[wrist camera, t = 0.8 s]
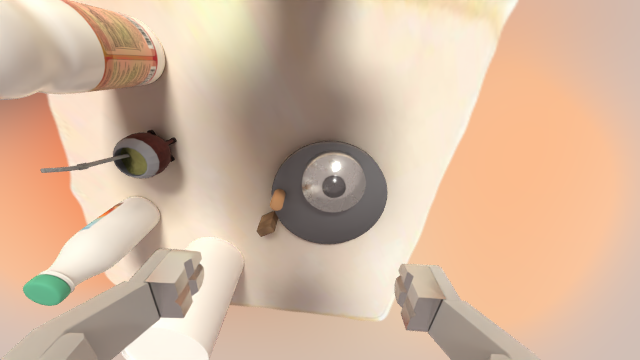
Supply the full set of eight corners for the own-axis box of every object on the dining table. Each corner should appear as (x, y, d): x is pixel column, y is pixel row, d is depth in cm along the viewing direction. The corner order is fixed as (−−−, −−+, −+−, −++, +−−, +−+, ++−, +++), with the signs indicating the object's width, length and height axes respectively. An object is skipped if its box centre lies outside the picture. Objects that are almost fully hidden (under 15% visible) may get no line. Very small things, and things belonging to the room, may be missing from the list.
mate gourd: (190, 154, 44) (132, 195, 30) (156, 171, 45) (87, 216, 32) (162, 117, 41) (85, 144, 27) (127, 136, 42) (38, 170, 29)
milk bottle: (146, 190, 47) (40, 268, 29) (168, 220, 50) (85, 307, 32) (114, 201, 48) (-8, 282, 30) (138, 230, 51) (41, 319, 33)
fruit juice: (166, 92, 39) (-110, 144, 14) (105, 74, 38) (-321, 94, 13) (168, 28, 35) (-215, -64, 10) (99, 5, 34) (-540, -167, 9)
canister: (237, 235, 52) (194, 325, 34) (248, 279, 58) (217, 375, 40) (177, 238, 52) (103, 329, 34) (194, 281, 58) (139, 378, 40)
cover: (305, 145, 41) (304, 153, 37) (368, 153, 41) (373, 161, 38) (300, 200, 45) (298, 211, 42) (356, 206, 46) (359, 217, 43)
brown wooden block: (274, 210, 49) (270, 225, 45) (278, 216, 50) (274, 231, 45) (262, 215, 50) (256, 231, 45) (266, 221, 50) (260, 236, 46)
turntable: (275, 134, 41) (269, 143, 36) (398, 148, 42) (408, 159, 37) (271, 234, 51) (266, 252, 46) (371, 243, 52) (377, 262, 47)
